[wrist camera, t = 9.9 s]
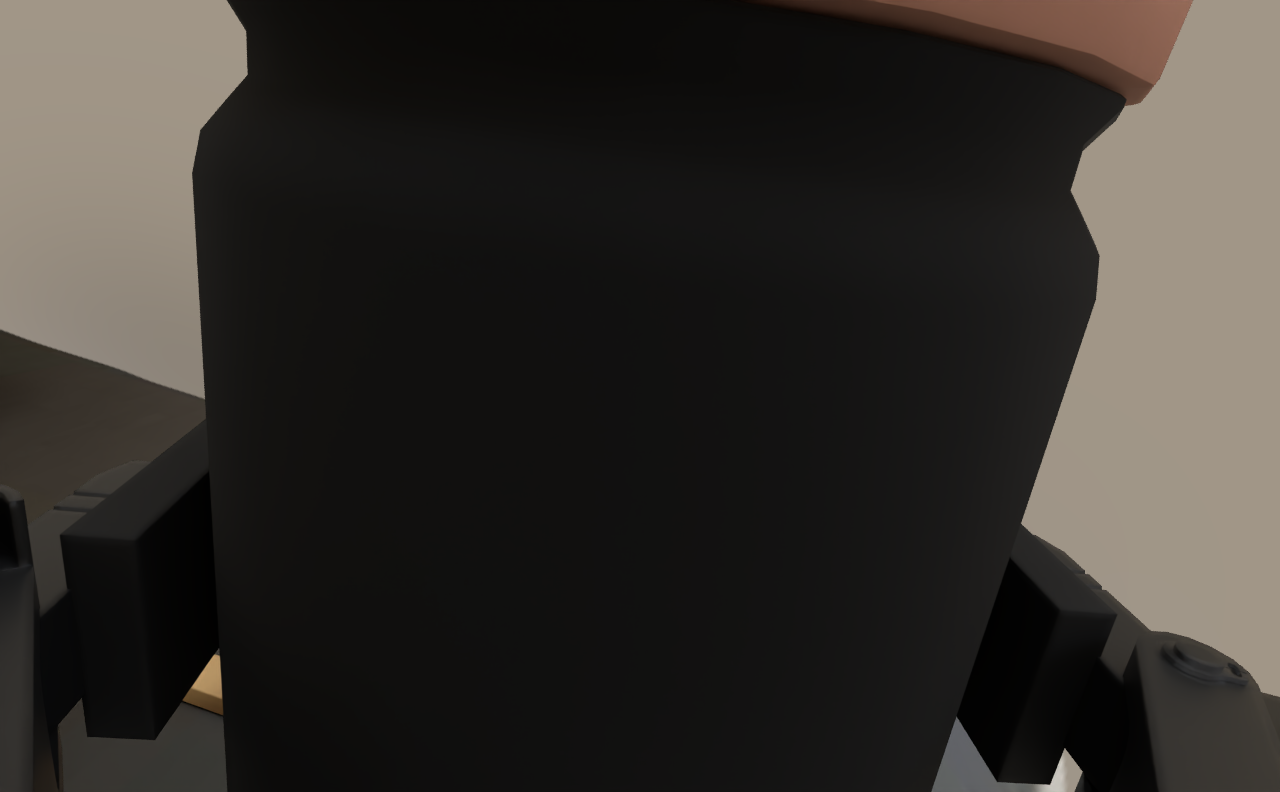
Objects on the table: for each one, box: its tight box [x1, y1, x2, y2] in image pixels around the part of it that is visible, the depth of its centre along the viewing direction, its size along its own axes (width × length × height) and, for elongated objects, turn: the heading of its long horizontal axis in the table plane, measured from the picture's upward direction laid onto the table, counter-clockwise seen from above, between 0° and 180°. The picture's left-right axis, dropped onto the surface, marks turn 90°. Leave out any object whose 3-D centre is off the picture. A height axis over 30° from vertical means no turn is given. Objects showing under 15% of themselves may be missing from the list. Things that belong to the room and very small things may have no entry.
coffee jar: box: [192, 0, 1193, 792], centre depth 12 cm, size 11×11×18 cm
